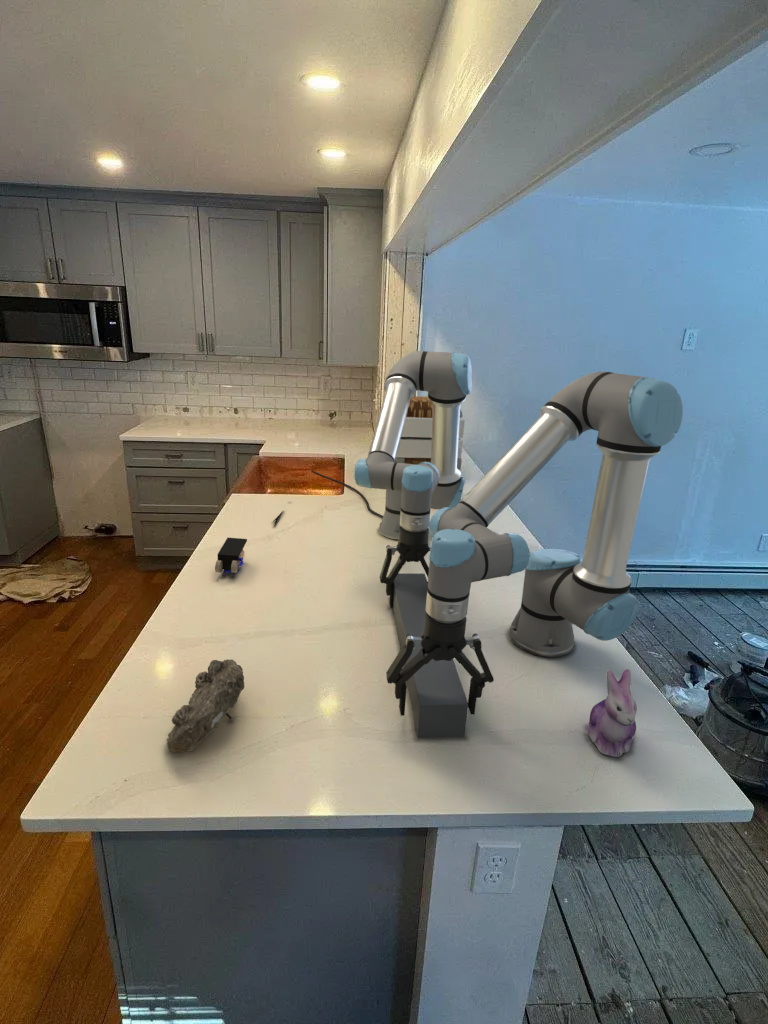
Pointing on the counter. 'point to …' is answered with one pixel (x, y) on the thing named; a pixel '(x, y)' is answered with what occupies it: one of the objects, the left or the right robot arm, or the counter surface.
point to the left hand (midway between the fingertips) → (409, 605)
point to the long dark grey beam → (428, 667)
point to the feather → (277, 518)
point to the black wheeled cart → (230, 556)
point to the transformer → (421, 434)
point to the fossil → (206, 705)
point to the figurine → (614, 717)
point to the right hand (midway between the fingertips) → (436, 710)
